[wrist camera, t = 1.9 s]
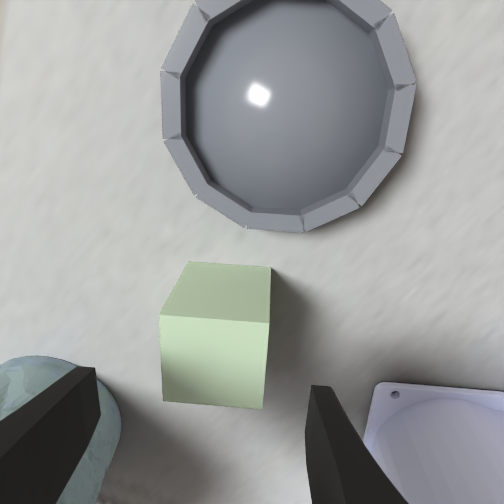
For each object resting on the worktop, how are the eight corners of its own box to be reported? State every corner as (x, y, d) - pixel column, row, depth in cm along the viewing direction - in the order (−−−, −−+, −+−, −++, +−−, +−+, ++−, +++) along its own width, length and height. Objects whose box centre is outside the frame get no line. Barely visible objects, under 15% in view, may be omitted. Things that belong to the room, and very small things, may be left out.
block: (271, 266, 18) (269, 323, 13) (265, 336, 19) (262, 409, 15) (189, 261, 18) (158, 314, 13) (189, 330, 19) (162, 401, 15)
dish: (418, -14, 13) (440, -33, 12) (374, 224, 17) (386, 238, 15) (171, -25, 14) (156, -45, 12) (177, 211, 17) (165, 223, 15)
